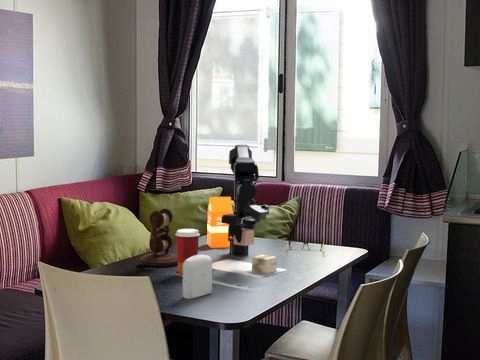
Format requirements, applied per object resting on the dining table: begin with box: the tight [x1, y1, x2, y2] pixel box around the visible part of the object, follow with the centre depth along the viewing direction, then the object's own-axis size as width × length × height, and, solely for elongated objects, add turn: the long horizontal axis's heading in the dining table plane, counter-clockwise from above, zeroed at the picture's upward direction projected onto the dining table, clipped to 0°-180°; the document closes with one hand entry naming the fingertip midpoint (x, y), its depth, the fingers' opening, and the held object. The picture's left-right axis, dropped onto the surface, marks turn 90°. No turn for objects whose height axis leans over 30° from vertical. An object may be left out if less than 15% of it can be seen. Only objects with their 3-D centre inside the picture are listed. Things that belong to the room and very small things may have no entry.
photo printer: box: [182, 254, 213, 300], centre depth 227 cm, size 10×4×12 cm, turn 140°
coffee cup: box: [174, 228, 201, 277], centre depth 254 cm, size 8×8×15 cm
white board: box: [212, 258, 287, 279], centre depth 261 cm, size 26×16×1 cm, turn 52°
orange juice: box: [206, 196, 234, 249], centre depth 305 cm, size 8×9×20 cm
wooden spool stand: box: [139, 208, 178, 268], centre depth 267 cm, size 15×15×20 cm
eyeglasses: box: [286, 239, 325, 258], centre depth 295 cm, size 14×14×4 cm
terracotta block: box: [234, 228, 255, 246], centre depth 260 cm, size 5×5×5 cm
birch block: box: [251, 254, 278, 274], centre depth 256 cm, size 6×6×5 cm
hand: (243, 241), depth 260 cm, fingers closed on terracotta block, 5 cm apart
